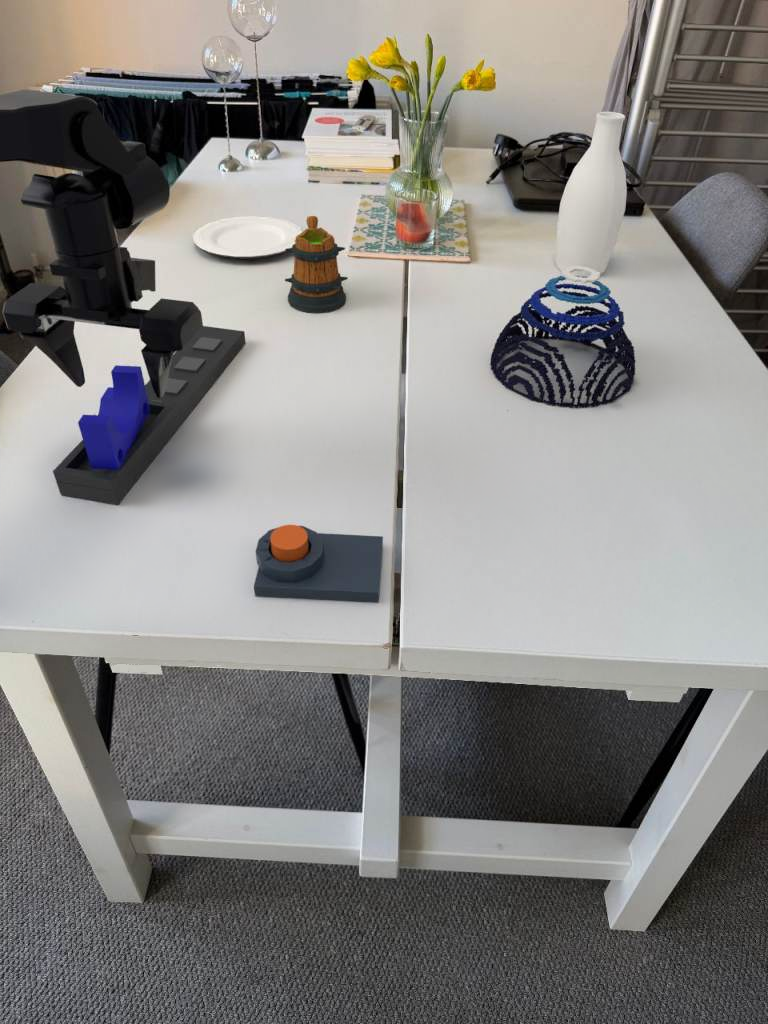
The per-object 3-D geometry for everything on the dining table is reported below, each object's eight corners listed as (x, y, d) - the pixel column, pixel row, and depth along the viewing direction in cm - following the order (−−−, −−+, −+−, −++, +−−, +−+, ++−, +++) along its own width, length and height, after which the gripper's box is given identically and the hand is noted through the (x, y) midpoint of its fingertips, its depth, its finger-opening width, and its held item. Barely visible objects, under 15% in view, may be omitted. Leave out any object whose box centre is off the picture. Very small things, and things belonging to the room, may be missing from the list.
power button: (268, 561, 71) (267, 548, 69) (274, 536, 73) (273, 523, 72) (306, 563, 71) (305, 550, 69) (310, 538, 73) (309, 525, 72)
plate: (182, 233, 143) (181, 223, 142) (283, 220, 150) (283, 210, 149) (210, 272, 129) (208, 262, 128) (320, 256, 136) (320, 246, 135)
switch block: (252, 596, 71) (249, 574, 69) (266, 540, 77) (264, 518, 75) (378, 602, 70) (379, 580, 68) (382, 545, 77) (383, 524, 75)
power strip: (118, 505, 80) (111, 481, 78) (60, 495, 81) (52, 471, 79) (245, 343, 109) (243, 322, 107) (202, 337, 111) (198, 316, 108)
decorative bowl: (545, 324, 117) (562, 234, 107) (657, 372, 106) (687, 275, 97) (463, 366, 106) (473, 269, 96) (579, 423, 95) (603, 320, 86)
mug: (350, 312, 118) (350, 241, 111) (287, 315, 117) (282, 243, 109) (343, 280, 128) (342, 212, 120) (284, 281, 127) (280, 213, 119)
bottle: (599, 285, 129) (634, 126, 112) (540, 271, 133) (566, 116, 116) (618, 265, 136) (655, 113, 119) (562, 252, 140) (589, 103, 124)
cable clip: (113, 408, 89) (102, 364, 85) (150, 410, 89) (140, 366, 85) (77, 467, 80) (63, 421, 76) (118, 469, 80) (106, 423, 76)
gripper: (213, 226, 73) (230, 365, 83) (43, 208, 76) (79, 345, 86) (166, 268, 65) (191, 417, 75) (-24, 246, 67) (25, 393, 77)
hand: (121, 390), depth 78 cm, fingers open, 9 cm apart
